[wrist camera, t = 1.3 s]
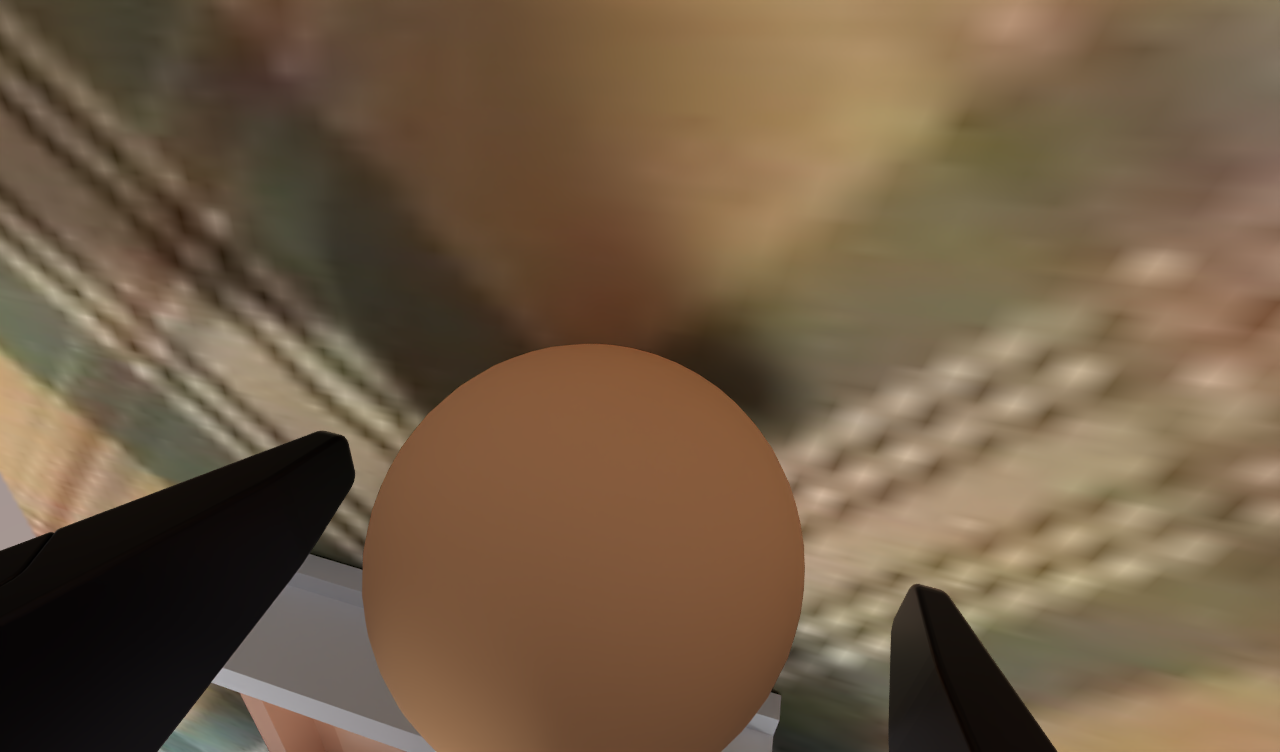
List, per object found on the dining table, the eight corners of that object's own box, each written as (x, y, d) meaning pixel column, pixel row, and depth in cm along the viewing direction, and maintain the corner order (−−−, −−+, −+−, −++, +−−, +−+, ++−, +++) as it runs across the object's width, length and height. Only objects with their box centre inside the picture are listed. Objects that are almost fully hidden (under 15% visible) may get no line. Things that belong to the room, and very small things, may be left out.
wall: (761, 746, 16) (748, 887, 13) (290, 597, 18) (205, 692, 15) (781, 695, 14) (770, 841, 12) (270, 542, 17) (173, 636, 14)
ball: (771, 578, 12) (732, 963, 7) (500, 505, 13) (307, 801, 8) (853, 317, 9) (880, 697, 4) (484, 248, 10) (155, 486, 5)
